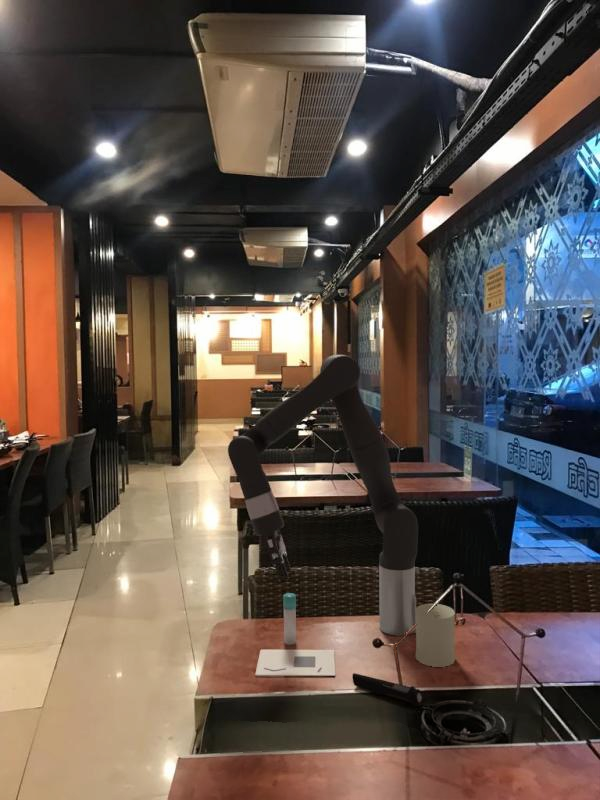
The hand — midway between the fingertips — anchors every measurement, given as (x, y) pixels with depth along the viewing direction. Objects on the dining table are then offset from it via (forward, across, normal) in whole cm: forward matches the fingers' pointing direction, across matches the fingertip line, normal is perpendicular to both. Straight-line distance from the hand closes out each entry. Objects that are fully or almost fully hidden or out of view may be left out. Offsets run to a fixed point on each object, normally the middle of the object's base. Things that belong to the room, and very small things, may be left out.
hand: (285, 575), depth 148 cm
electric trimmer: (+28, -18, -15) cm, 36 cm away
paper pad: (+19, -5, +4) cm, 20 cm away
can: (+30, -2, -28) cm, 40 cm away
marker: (+17, +6, +5) cm, 19 cm away
